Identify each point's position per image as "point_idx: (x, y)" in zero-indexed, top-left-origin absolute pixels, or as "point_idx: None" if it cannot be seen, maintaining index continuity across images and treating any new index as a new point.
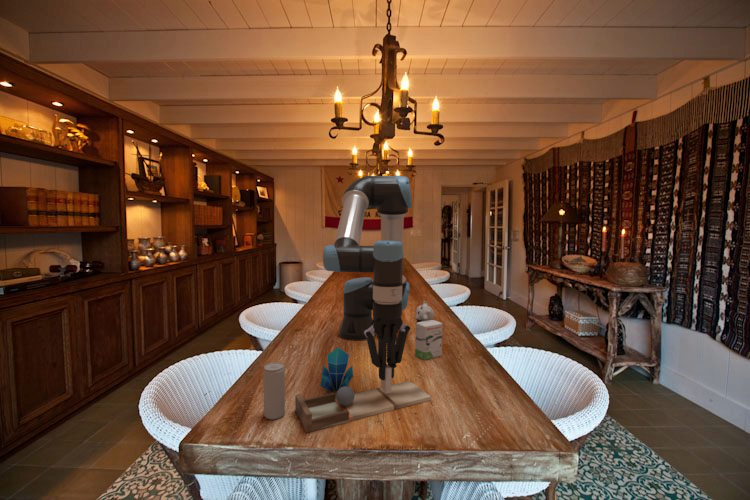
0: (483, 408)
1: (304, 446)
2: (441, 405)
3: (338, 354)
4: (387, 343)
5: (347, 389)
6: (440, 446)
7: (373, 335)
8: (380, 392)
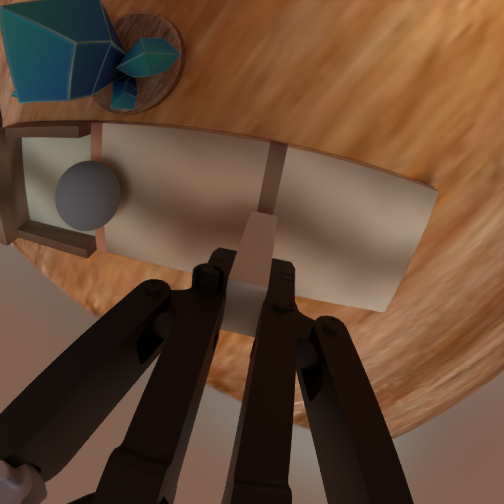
0: (419, 378)
1: (26, 256)
2: (375, 334)
3: (11, 54)
4: (238, 439)
5: (72, 223)
6: (237, 394)
7: (39, 490)
8: (265, 183)
